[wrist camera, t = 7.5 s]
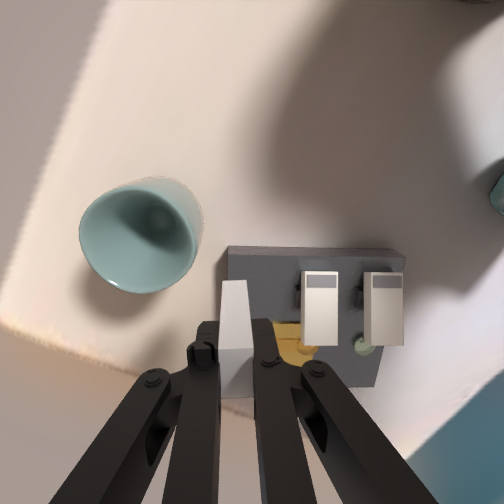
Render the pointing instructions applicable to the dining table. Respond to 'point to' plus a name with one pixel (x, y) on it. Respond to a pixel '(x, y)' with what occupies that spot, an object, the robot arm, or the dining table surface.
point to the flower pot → (498, 196)
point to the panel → (289, 301)
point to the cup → (143, 234)
